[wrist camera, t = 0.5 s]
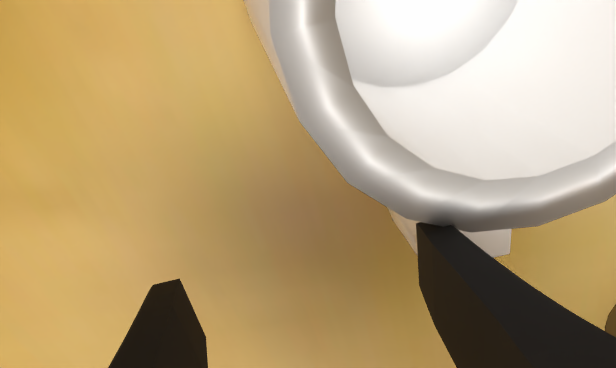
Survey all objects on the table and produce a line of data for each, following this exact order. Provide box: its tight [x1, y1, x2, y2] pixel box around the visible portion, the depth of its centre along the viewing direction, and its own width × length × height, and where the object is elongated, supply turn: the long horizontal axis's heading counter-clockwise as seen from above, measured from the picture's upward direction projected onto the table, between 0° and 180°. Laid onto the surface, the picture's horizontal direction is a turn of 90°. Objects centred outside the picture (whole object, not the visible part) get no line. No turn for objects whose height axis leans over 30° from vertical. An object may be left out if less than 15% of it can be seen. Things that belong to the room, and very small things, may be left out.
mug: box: [243, 0, 616, 258], centre depth 14 cm, size 14×10×11 cm
